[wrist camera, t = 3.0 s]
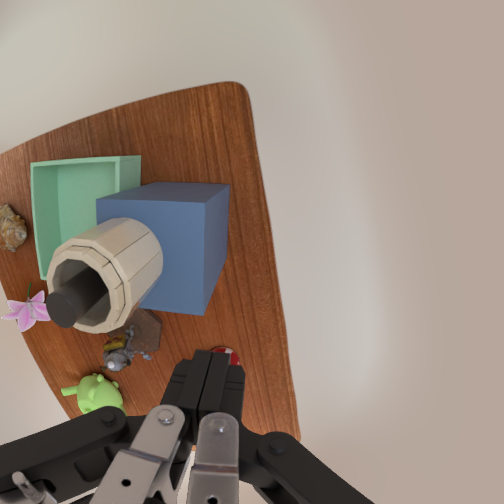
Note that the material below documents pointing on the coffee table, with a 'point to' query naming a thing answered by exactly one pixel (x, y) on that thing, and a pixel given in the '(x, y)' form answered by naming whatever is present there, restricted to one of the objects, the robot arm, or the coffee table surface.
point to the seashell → (11, 229)
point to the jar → (110, 269)
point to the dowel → (76, 297)
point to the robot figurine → (132, 340)
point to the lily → (28, 311)
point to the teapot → (95, 393)
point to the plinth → (178, 238)
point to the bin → (74, 197)
